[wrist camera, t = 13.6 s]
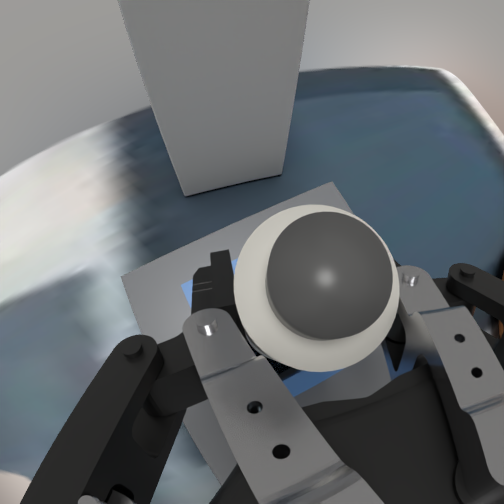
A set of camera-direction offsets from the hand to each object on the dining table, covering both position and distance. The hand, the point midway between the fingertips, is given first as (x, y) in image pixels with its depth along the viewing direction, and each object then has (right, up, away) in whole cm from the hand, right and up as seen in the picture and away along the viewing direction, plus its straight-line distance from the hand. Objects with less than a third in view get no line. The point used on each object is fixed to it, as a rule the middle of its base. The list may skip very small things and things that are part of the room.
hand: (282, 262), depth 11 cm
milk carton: (-3, +8, +10) cm, 14 cm away
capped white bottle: (0, -3, +4) cm, 5 cm away
